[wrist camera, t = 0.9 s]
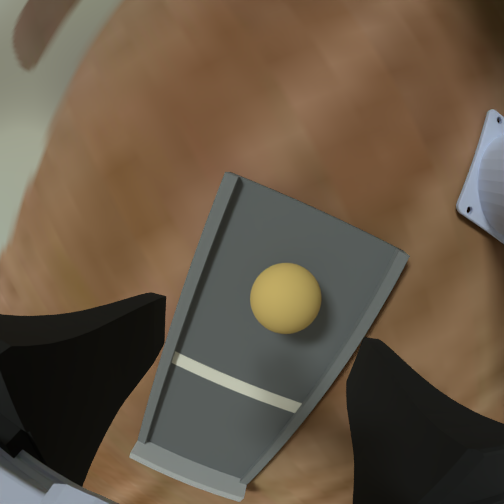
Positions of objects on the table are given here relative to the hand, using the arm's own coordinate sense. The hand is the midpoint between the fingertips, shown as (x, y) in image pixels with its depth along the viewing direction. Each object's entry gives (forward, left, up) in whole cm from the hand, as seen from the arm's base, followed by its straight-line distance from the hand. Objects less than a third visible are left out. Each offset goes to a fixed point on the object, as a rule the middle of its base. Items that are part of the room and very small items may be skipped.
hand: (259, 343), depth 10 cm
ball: (-1, +1, -7) cm, 7 cm away
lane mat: (-1, +10, -9) cm, 14 cm away
